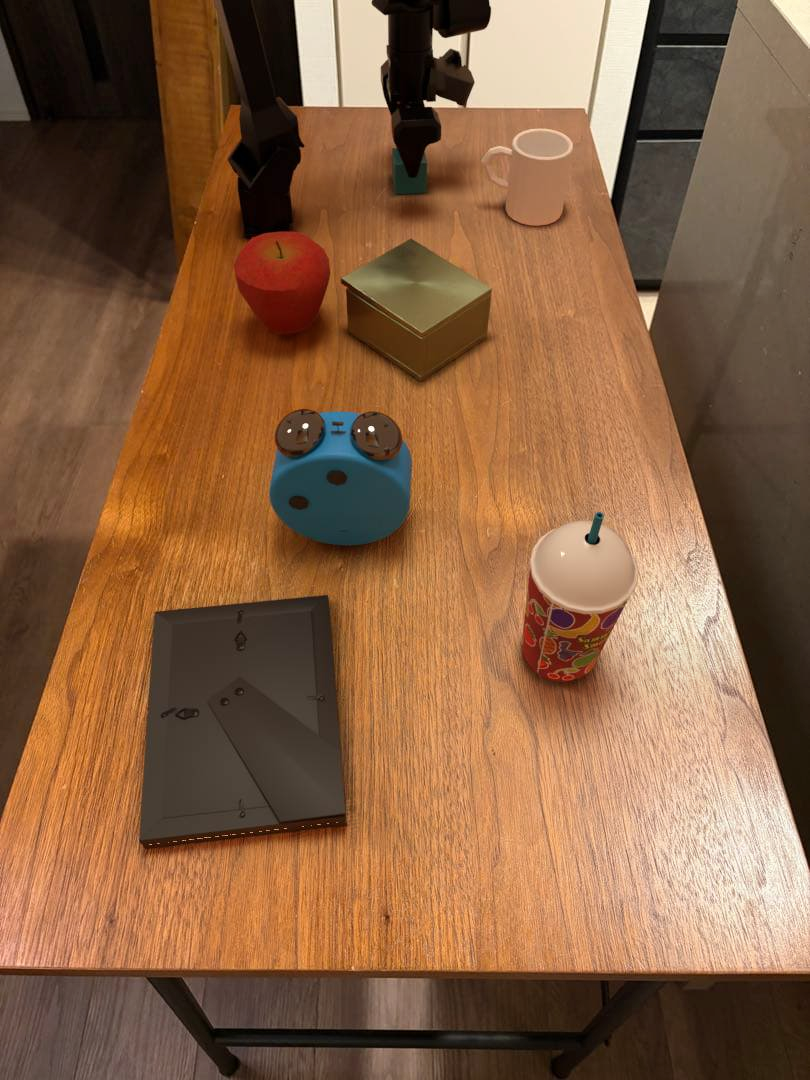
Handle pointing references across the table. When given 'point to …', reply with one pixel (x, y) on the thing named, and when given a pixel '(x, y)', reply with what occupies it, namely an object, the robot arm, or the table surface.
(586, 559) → the smoothie
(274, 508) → the alarm clock
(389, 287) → the lid
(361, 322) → the brass box
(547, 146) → the mug
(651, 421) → the table surface
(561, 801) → the table surface
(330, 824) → the picture frame
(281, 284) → the apple
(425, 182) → the block
